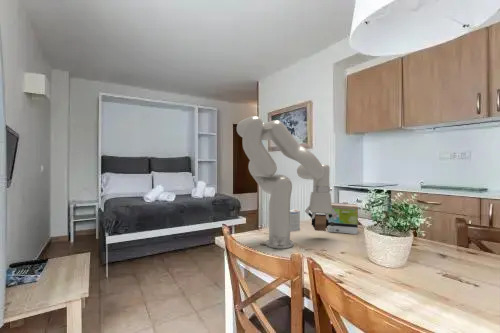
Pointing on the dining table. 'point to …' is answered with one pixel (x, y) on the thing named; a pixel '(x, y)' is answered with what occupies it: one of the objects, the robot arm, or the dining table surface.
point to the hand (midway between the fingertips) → (319, 226)
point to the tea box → (344, 218)
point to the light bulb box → (294, 219)
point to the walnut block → (320, 222)
